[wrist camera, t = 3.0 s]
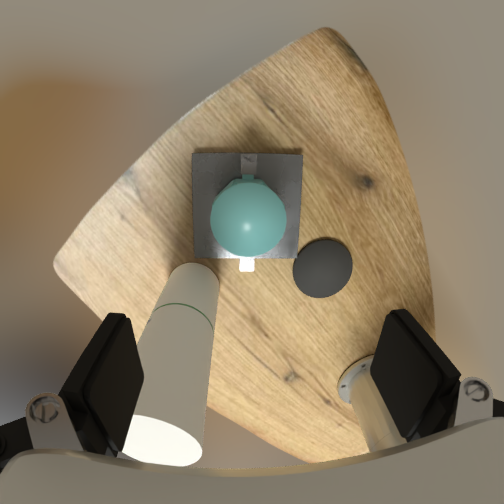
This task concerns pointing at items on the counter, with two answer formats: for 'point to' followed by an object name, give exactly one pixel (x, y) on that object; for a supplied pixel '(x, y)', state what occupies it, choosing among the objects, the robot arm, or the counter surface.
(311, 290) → the coaster
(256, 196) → the cap
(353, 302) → the counter surface
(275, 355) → the counter surface
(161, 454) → the cylindrical container
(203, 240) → the grey square base plate
